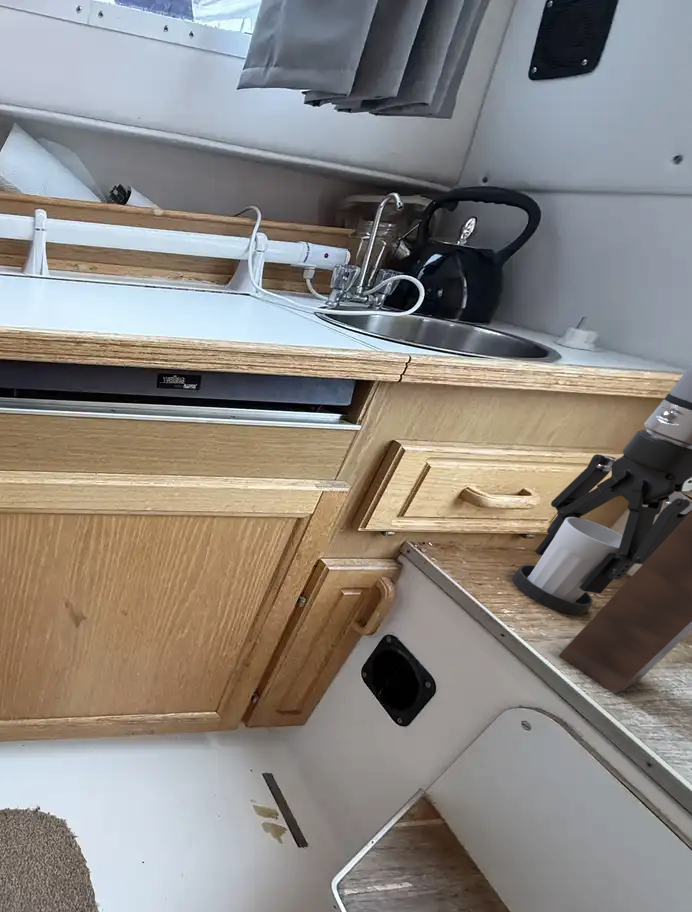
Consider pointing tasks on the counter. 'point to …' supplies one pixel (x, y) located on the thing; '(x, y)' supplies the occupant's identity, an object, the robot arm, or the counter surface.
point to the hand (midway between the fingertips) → (565, 571)
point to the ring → (548, 598)
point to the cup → (573, 557)
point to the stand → (640, 617)
